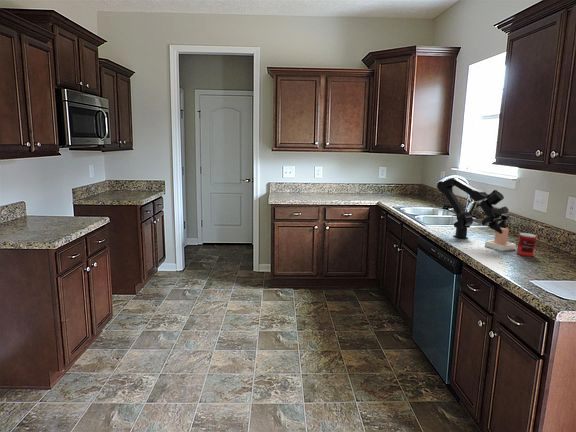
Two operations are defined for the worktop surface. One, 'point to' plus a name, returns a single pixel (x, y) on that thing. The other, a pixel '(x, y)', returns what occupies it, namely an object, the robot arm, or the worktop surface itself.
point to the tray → (500, 246)
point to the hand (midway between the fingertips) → (504, 233)
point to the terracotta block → (501, 236)
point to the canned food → (526, 244)
